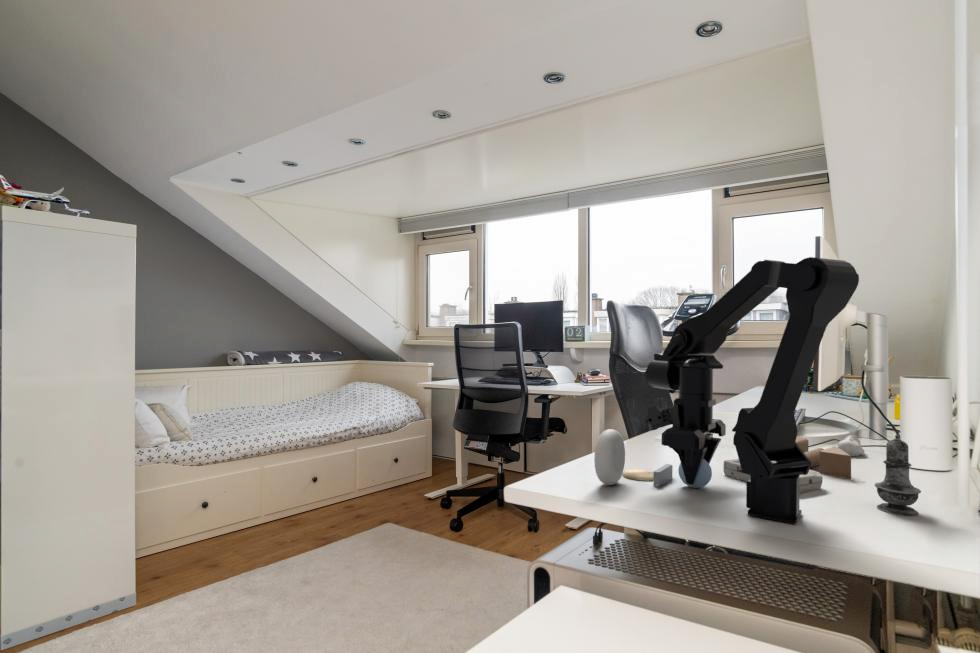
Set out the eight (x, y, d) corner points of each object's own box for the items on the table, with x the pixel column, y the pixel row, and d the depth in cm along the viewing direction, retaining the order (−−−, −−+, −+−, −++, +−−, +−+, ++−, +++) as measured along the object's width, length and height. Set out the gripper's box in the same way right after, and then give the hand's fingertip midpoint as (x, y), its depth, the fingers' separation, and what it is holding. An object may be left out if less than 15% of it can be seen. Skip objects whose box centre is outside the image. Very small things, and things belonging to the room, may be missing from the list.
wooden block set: (758, 439, 117) (791, 430, 129) (758, 465, 117) (791, 454, 128) (849, 451, 104) (876, 441, 116) (849, 481, 104) (876, 467, 116)
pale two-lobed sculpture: (857, 463, 124) (832, 453, 127) (865, 457, 129) (842, 447, 133) (863, 446, 123) (838, 436, 126) (872, 441, 128) (848, 431, 132)
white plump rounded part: (609, 477, 103) (610, 424, 103) (627, 480, 102) (627, 426, 102) (591, 489, 95) (591, 432, 95) (610, 492, 93) (610, 434, 93)
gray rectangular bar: (672, 477, 103) (672, 464, 103) (658, 486, 97) (659, 472, 97) (667, 477, 104) (667, 464, 104) (653, 485, 98) (653, 471, 98)
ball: (715, 486, 98) (715, 455, 98) (706, 493, 93) (707, 461, 93) (683, 481, 101) (683, 451, 101) (674, 488, 96) (674, 456, 97)
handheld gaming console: (793, 476, 93) (722, 458, 107) (793, 497, 93) (722, 476, 107) (827, 471, 97) (754, 454, 111) (827, 491, 97) (754, 472, 111)
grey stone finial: (908, 506, 88) (908, 431, 88) (929, 518, 82) (929, 438, 82) (867, 503, 89) (867, 429, 89) (885, 514, 83) (885, 436, 83)
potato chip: (665, 475, 105) (665, 473, 105) (652, 483, 100) (652, 481, 100) (630, 469, 109) (630, 468, 109) (616, 476, 104) (616, 475, 104)
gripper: (667, 386, 110) (667, 464, 109) (632, 393, 95) (631, 483, 94) (726, 390, 103) (726, 473, 103) (698, 398, 88) (697, 495, 88)
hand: (695, 480), depth 97 cm, fingers closed on ball, 6 cm apart
